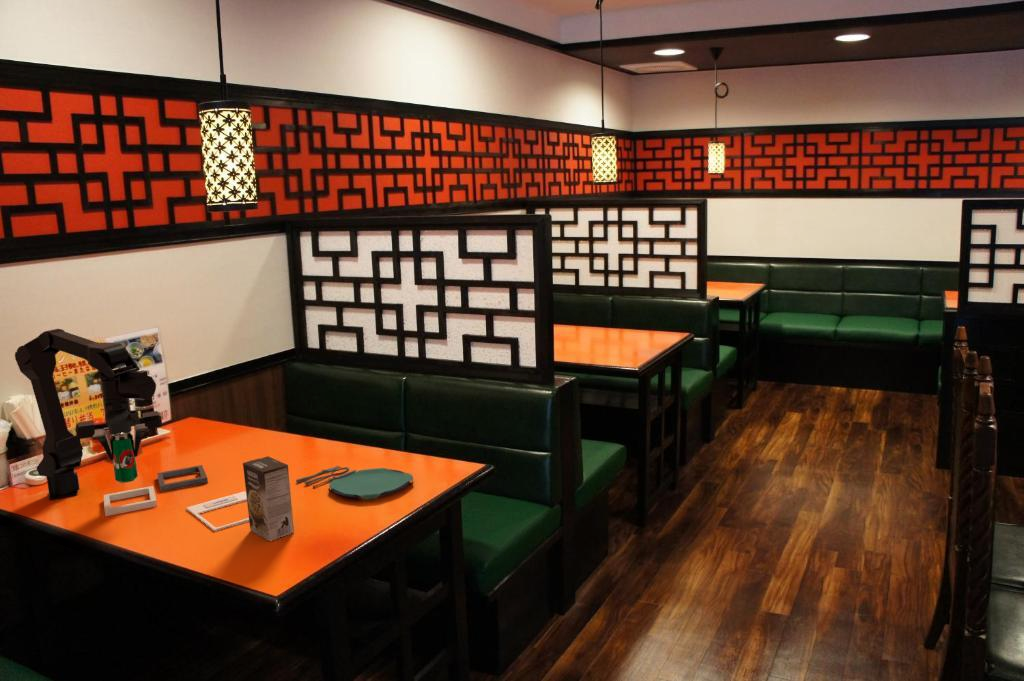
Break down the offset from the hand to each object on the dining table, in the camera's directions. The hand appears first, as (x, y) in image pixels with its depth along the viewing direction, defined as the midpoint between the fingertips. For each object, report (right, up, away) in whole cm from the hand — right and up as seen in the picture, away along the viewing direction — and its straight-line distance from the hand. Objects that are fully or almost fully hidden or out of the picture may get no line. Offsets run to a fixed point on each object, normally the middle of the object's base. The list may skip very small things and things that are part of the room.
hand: (124, 458), depth 202 cm
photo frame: (+28, -12, -5) cm, 31 cm away
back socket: (+8, -8, +17) cm, 20 cm away
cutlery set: (+55, -8, +9) cm, 57 cm away
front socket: (+1, -11, +2) cm, 12 cm away
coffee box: (+42, -14, -18) cm, 47 cm away
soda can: (0, -6, +1) cm, 6 cm away
